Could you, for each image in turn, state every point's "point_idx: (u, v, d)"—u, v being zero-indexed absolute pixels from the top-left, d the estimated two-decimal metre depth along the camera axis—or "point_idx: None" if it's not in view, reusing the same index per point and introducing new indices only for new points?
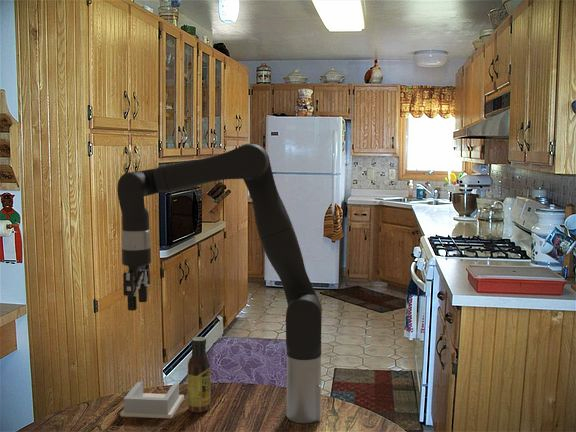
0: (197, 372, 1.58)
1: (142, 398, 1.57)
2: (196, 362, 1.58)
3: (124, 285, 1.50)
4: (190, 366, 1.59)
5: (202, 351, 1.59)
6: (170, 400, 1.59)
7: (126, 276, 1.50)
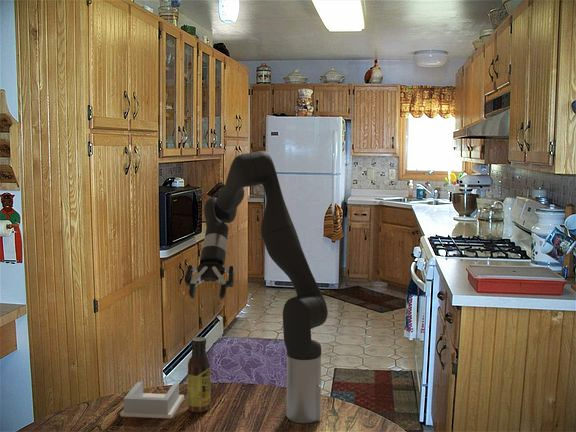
0: (197, 373, 1.58)
1: (142, 398, 1.57)
2: (196, 362, 1.58)
3: None
4: (190, 366, 1.59)
5: (202, 351, 1.59)
6: (170, 400, 1.59)
7: None
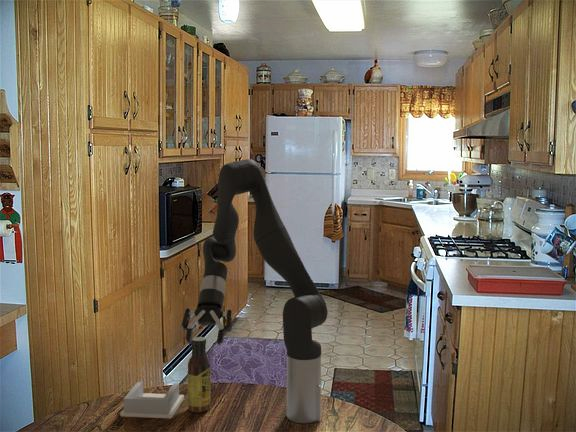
0: (197, 373, 1.58)
1: (142, 398, 1.57)
2: (196, 362, 1.58)
3: None
4: (190, 366, 1.59)
5: (202, 351, 1.59)
6: (170, 400, 1.59)
7: None
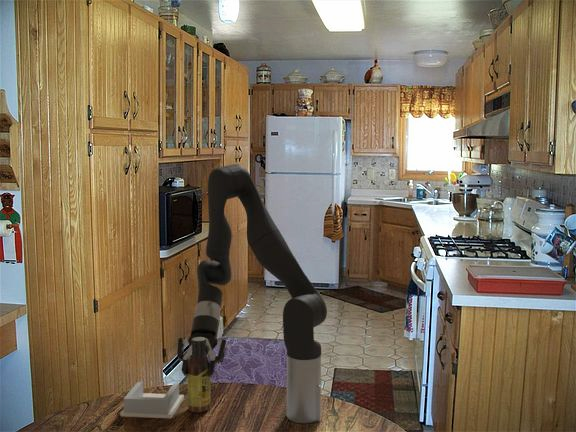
0: (197, 372, 1.58)
1: (142, 398, 1.57)
2: (196, 362, 1.58)
3: None
4: (190, 366, 1.59)
5: (202, 351, 1.59)
6: (170, 400, 1.59)
7: None
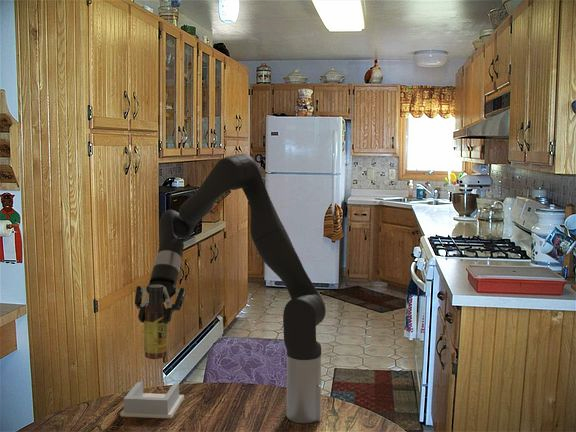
0: (153, 319, 1.58)
1: (142, 398, 1.57)
2: (152, 308, 1.58)
3: None
4: (146, 312, 1.59)
5: (158, 298, 1.59)
6: (170, 400, 1.59)
7: None
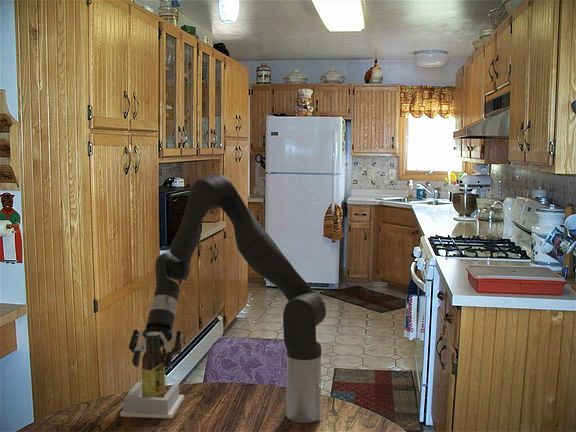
0: (151, 367, 1.59)
1: (142, 398, 1.57)
2: (149, 357, 1.60)
3: None
4: (144, 361, 1.60)
5: (155, 346, 1.60)
6: (170, 400, 1.59)
7: None
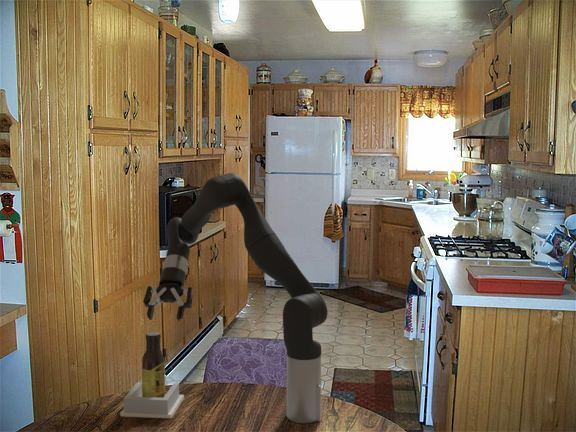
0: (151, 367, 1.59)
1: (142, 398, 1.57)
2: (149, 357, 1.60)
3: None
4: (144, 361, 1.60)
5: (155, 346, 1.60)
6: (170, 400, 1.59)
7: None
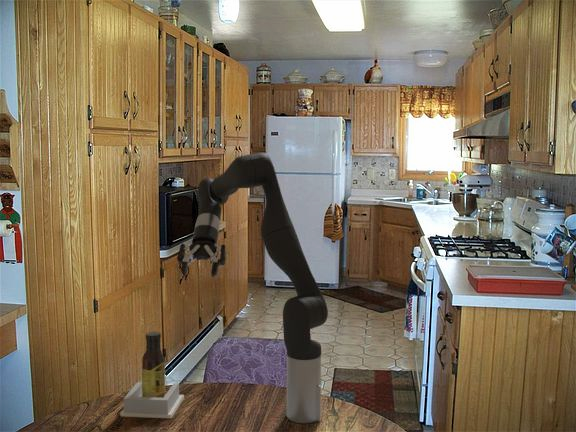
0: (151, 367, 1.59)
1: (142, 398, 1.57)
2: (149, 357, 1.60)
3: None
4: (144, 361, 1.60)
5: (156, 346, 1.60)
6: (170, 400, 1.59)
7: None
